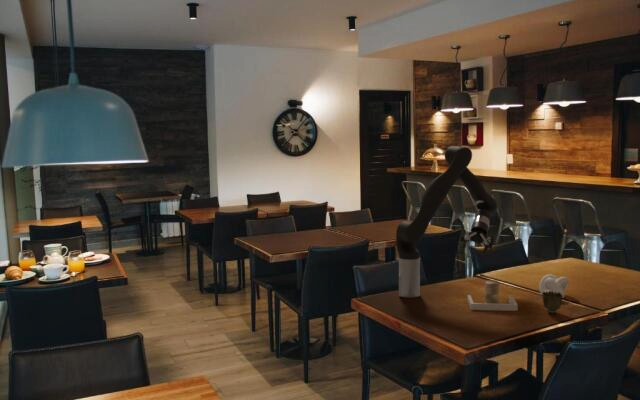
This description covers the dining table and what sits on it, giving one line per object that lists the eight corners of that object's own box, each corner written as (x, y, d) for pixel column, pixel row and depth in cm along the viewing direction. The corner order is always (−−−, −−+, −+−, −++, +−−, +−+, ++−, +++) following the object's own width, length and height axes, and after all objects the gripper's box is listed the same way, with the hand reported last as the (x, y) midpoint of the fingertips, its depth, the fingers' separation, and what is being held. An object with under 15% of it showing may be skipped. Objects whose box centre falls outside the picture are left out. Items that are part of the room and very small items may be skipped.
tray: (470, 309, 236) (470, 303, 235) (467, 300, 248) (467, 295, 248) (517, 310, 233) (517, 304, 233) (511, 301, 246) (512, 295, 245)
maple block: (486, 306, 239) (486, 283, 238) (484, 303, 244) (484, 280, 243) (498, 307, 238) (498, 283, 237) (496, 303, 243) (497, 280, 242)
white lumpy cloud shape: (534, 296, 252) (534, 276, 251) (544, 291, 261) (545, 271, 260) (560, 301, 244) (560, 280, 243) (570, 295, 253) (571, 275, 252)
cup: (563, 316, 225) (564, 296, 224) (543, 315, 226) (544, 295, 225) (560, 310, 232) (560, 291, 231) (540, 309, 233) (541, 290, 232)
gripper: (465, 217, 264) (459, 239, 252) (497, 224, 260) (492, 247, 248) (463, 229, 268) (456, 251, 256) (494, 237, 264) (489, 259, 252)
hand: (474, 249), depth 252 cm, fingers open, 8 cm apart
